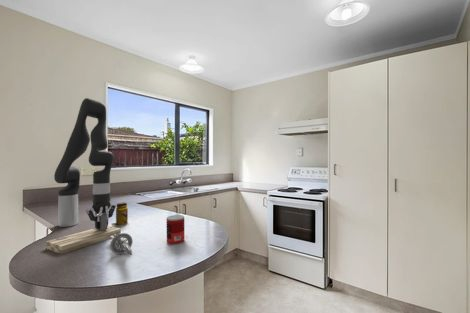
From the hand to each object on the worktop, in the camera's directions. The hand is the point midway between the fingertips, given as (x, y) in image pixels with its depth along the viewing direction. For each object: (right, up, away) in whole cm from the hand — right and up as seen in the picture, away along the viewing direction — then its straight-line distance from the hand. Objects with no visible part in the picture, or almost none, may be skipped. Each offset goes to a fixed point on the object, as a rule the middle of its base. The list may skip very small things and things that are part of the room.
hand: (101, 227), depth 112 cm
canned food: (+38, -4, -7) cm, 39 cm away
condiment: (-1, -5, +21) cm, 21 cm away
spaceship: (+20, -4, -20) cm, 29 cm away
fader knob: (0, -2, 0) cm, 2 cm away
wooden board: (-3, -4, -6) cm, 8 cm away
